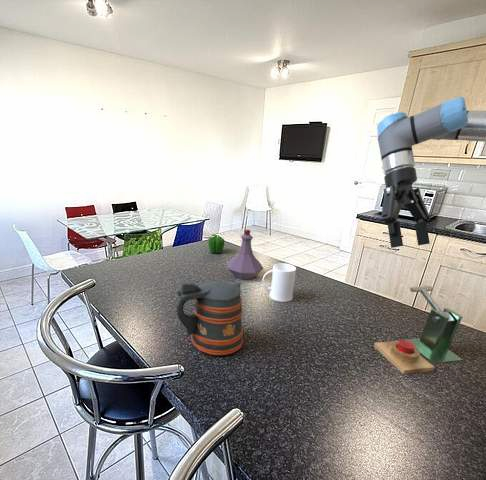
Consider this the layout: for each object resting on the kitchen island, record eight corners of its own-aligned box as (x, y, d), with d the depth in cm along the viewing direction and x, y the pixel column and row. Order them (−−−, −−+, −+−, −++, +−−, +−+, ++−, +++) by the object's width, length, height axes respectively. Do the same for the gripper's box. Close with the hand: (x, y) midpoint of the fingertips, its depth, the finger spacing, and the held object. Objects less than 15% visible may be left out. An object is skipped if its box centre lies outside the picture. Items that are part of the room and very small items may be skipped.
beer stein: (191, 369, 72) (191, 298, 64) (169, 338, 84) (166, 275, 76) (253, 347, 81) (259, 282, 73) (224, 321, 93) (227, 263, 85)
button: (405, 345, 78) (407, 339, 77) (416, 353, 75) (418, 348, 74) (393, 346, 77) (395, 340, 77) (403, 354, 74) (405, 349, 73)
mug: (261, 301, 106) (264, 270, 101) (259, 290, 114) (262, 261, 109) (294, 302, 105) (299, 272, 100) (290, 292, 113) (294, 263, 108)
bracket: (402, 342, 85) (416, 304, 80) (429, 340, 86) (444, 302, 81) (431, 366, 76) (448, 324, 70) (461, 363, 77) (480, 322, 72)
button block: (399, 346, 83) (403, 335, 81) (432, 374, 73) (437, 361, 71) (372, 349, 82) (376, 337, 80) (402, 377, 72) (406, 364, 70)
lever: (408, 290, 84) (413, 284, 82) (426, 289, 85) (431, 283, 83) (434, 326, 76) (440, 321, 74) (454, 324, 77) (461, 320, 75)
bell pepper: (224, 250, 158) (225, 232, 154) (223, 255, 150) (224, 236, 146) (209, 249, 159) (209, 231, 155) (207, 254, 151) (207, 235, 147)
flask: (259, 285, 118) (264, 237, 110) (220, 279, 123) (222, 233, 115) (265, 270, 132) (270, 227, 124) (230, 265, 137) (232, 224, 129)
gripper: (409, 179, 91) (420, 246, 91) (359, 173, 80) (370, 250, 79) (436, 169, 85) (448, 241, 84) (386, 161, 73) (399, 245, 72)
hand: (411, 245), depth 81 cm, fingers open, 13 cm apart
